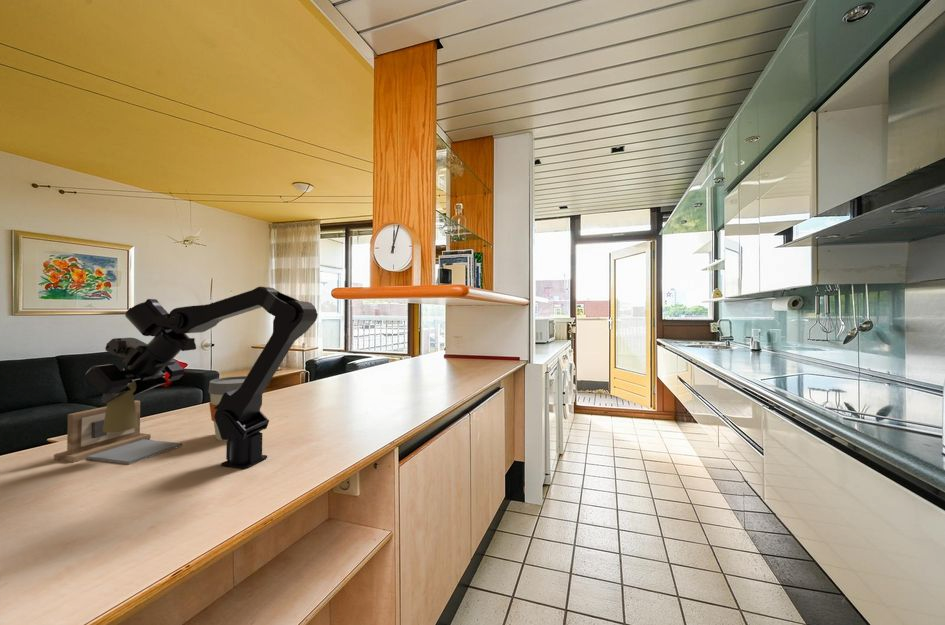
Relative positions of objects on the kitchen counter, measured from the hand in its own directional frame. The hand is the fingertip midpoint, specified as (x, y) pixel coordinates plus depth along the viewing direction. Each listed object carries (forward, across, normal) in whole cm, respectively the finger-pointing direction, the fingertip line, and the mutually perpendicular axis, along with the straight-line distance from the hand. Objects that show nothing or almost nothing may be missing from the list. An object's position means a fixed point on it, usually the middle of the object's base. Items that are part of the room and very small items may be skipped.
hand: (115, 399), depth 86 cm
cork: (+4, 0, +6) cm, 7 cm away
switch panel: (+14, -5, +4) cm, 16 cm away
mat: (+8, -3, +11) cm, 14 cm away
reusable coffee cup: (-2, -17, +21) cm, 27 cm away
